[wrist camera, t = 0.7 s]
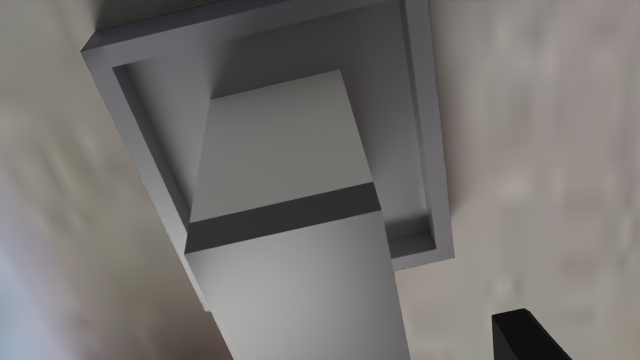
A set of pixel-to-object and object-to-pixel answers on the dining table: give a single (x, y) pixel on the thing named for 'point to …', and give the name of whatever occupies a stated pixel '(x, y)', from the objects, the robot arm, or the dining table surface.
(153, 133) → the tray
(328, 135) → the plug
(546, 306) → the dining table surface
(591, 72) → the dining table surface
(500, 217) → the dining table surface
